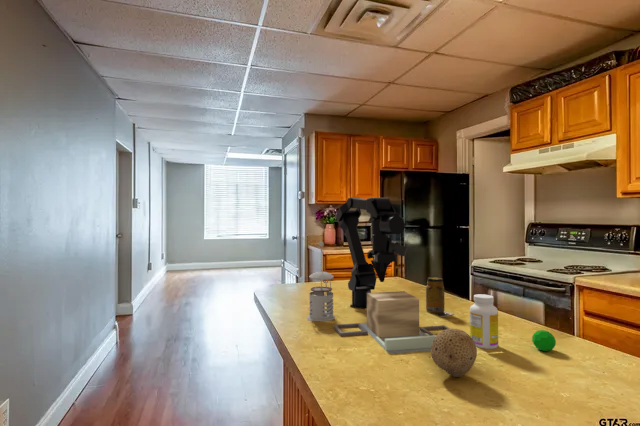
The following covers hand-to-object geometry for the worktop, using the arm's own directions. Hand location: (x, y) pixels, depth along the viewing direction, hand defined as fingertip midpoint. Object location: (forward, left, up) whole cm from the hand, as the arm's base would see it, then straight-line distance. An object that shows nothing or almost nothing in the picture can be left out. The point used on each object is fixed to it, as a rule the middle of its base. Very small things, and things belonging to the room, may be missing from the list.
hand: (382, 281), depth 121 cm
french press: (-16, -12, -12) cm, 23 cm away
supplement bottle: (+33, -10, -12) cm, 36 cm away
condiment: (+14, +14, -12) cm, 23 cm away
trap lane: (+12, -15, -12) cm, 23 cm away
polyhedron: (+46, -5, -12) cm, 48 cm away
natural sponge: (+31, -33, -12) cm, 47 cm away
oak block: (+9, -13, -11) cm, 19 cm away
